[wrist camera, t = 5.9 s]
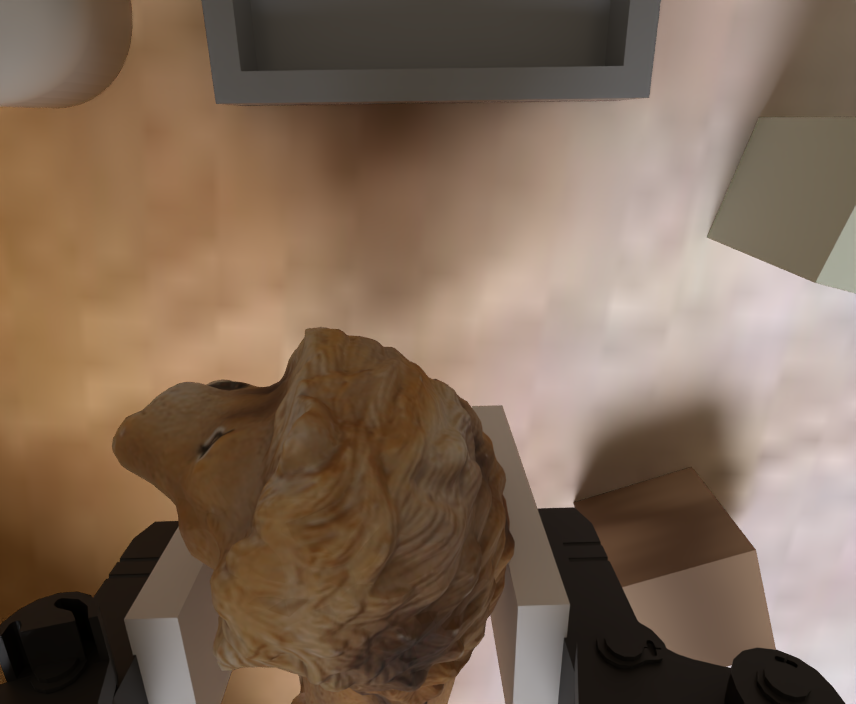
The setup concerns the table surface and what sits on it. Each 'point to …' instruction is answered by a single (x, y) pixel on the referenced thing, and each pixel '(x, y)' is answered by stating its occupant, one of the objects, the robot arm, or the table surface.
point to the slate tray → (429, 51)
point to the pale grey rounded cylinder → (61, 50)
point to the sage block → (796, 199)
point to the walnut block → (684, 566)
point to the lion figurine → (335, 518)
